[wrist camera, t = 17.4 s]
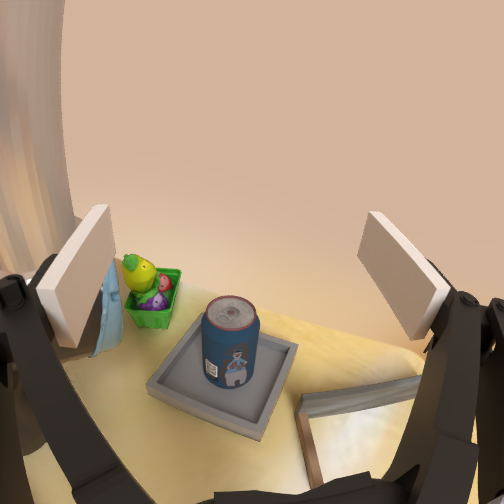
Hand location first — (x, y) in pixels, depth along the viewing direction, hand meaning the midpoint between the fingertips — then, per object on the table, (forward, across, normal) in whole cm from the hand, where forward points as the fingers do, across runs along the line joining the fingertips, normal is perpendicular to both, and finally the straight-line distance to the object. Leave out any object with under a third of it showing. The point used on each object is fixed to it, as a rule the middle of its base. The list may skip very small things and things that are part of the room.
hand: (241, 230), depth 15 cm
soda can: (+13, +1, -29) cm, 32 cm away
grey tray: (+13, +1, -30) cm, 33 cm away
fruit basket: (+27, -11, -30) cm, 42 cm away
